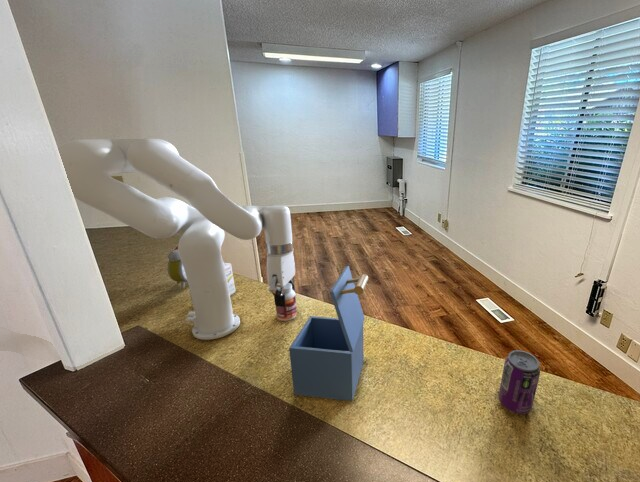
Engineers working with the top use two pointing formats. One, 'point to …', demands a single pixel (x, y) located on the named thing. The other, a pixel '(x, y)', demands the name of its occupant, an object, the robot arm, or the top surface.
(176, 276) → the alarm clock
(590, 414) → the top surface
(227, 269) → the ink box
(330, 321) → the chest
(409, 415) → the top surface
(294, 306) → the pill bottle
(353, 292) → the lid
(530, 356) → the beverage can
